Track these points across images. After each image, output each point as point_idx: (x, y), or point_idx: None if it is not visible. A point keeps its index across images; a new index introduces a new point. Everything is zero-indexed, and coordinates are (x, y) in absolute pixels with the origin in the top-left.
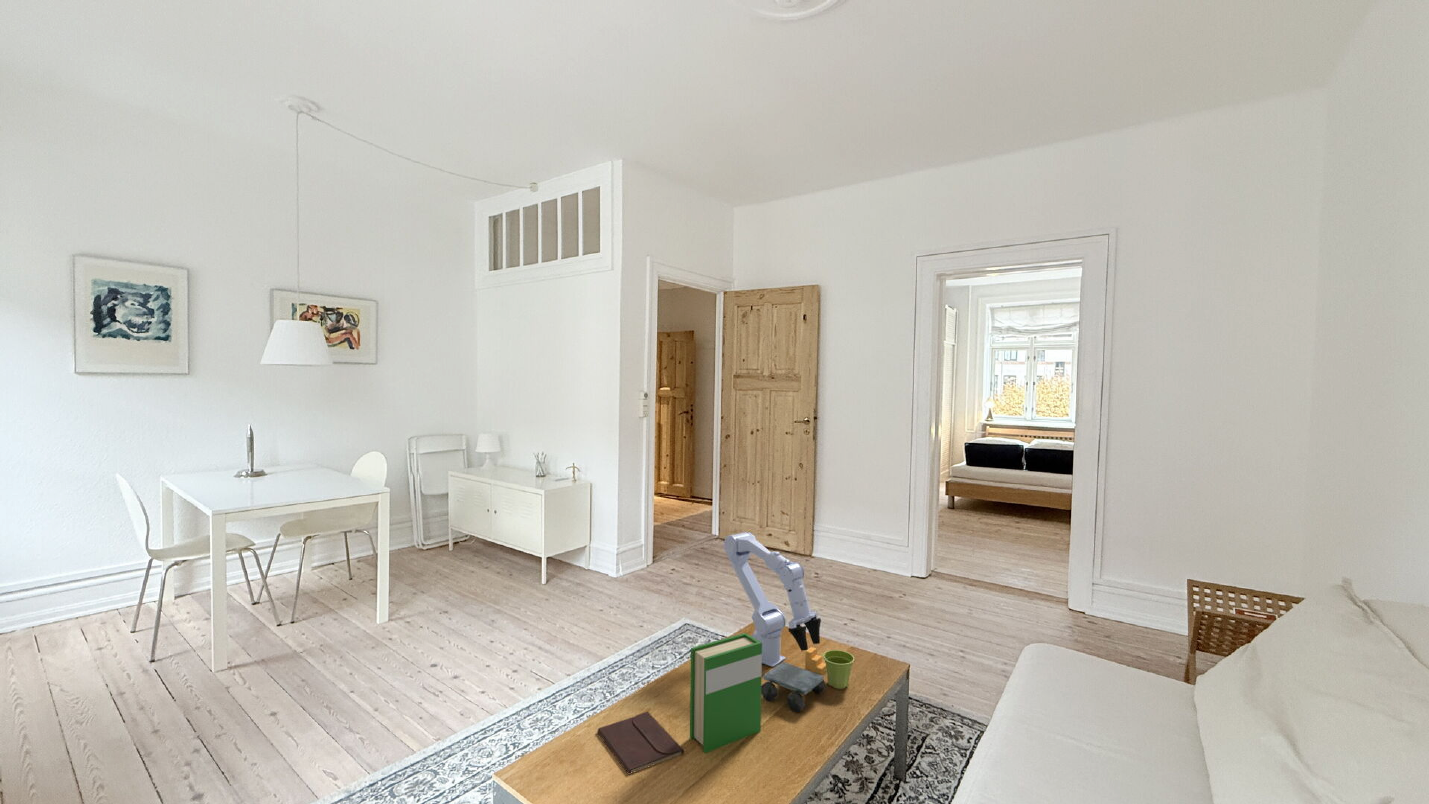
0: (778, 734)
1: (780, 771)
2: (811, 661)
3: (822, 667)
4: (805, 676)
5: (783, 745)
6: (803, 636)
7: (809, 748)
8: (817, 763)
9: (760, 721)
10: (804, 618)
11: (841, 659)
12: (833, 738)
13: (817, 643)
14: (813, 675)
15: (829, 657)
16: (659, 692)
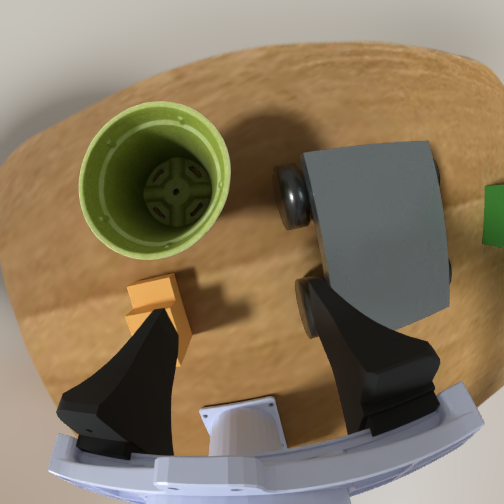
0: (470, 151)
1: (495, 100)
2: (178, 324)
3: (158, 282)
4: (366, 202)
5: (475, 125)
6: (375, 322)
7: (448, 83)
8: (453, 60)
9: (499, 185)
10: (350, 471)
11: (111, 208)
12: (397, 57)
13: (168, 316)
14: (334, 184)
15: (150, 243)
16: (483, 392)
